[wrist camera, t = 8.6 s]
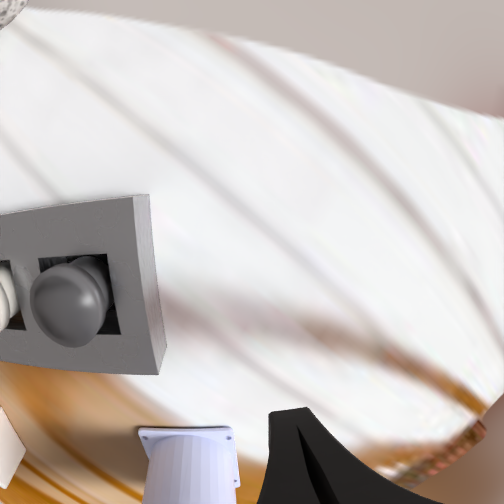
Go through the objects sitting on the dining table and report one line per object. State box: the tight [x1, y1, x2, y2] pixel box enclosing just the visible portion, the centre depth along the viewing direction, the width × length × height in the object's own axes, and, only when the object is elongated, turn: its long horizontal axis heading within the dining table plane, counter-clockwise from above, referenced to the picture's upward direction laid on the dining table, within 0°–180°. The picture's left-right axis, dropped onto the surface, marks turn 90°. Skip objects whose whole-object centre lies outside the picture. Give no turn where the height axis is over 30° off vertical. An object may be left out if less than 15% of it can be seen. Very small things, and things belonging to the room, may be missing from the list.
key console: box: [0, 194, 167, 375], centre depth 15 cm, size 10×22×4 cm, turn 92°
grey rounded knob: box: [30, 256, 114, 348], centre depth 14 cm, size 4×4×4 cm
